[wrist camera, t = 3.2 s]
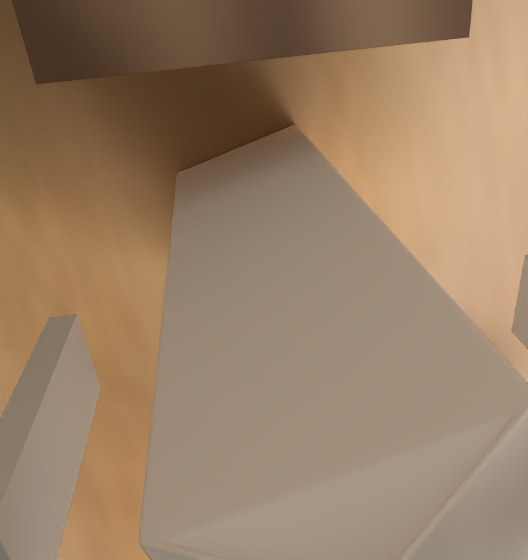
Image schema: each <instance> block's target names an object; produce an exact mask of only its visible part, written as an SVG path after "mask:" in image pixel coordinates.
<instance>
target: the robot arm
mask: <svg viewBox="0 0 528 560" xmlns="http://www.w3.org/2000/svg"><path fill="white" fill-rule="evenodd" d="M511 332H512V333H513V334H514V335H515V336H516V337H517V338H518V339H519V340H520V341H521V342H522V343H523V344H524V345H525V346H526V348H527V349H528V255H525V258H524V264H523V269H522V275H521V280H520V286H519V292H518V297H517V303H516V308H515V314H514V320H513V325H512V331H511ZM100 390H101V389H100V385H99V382H98V379H97V376H96V373H95V370H94V367H93V363H92V360H91V357H90V354H89V351H88V348H87V344H86V341H85V338H84V335H83V332H82V329H81V326H80V322H79V319H78V316H77V314H74V315H66V316H59V317H51V318H49V319H48V322H47V324H46V326H45V328H44V330H43V332H42V334H41V336H40V338H39V340H38V342H37V344H36V346H35V348H34V350H33V352H32V354H31V356H30V359H29V361H28V363H27V365H26V367H25V369H24V371H23V373H22V375H21V377H20V379H19V381H18V383H17V385H16V387H15V389H14V391H13V394H12V396H11V398H10V400H9V402H8V404H7V406H6V408H5V410H4V412H3V414H2V416H1V418H0V560H56V558H57V554H58V551H59V547H60V543H61V539H62V535H63V532H64V528H65V524H66V520H67V516H68V512H69V509H70V505H71V501H72V497H73V493H74V489H75V486H76V482H77V478H78V474H79V470H80V466H81V463H82V459H83V455H84V451H85V447H86V444H87V440H88V436H89V432H90V428H91V424H92V421H93V417H94V413H95V409H96V405H97V401H98V398H99V394H100Z"/></svg>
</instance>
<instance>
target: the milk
mask: <svg viewBox="0 0 528 560" xmlns="http://www.w3.org/2000/svg"><path fill="white" fill-rule="evenodd" d="M139 544H140V546H141V548H142V549H143V550H144V551H145V553H146V554H147V555H148V556H149V558H150V559H151V560H528V383H527V382H526V380H525V379H524V378H523V377H522V376H521V375H520V374H519V373H518V372H517V370H516V369H515V368H514V367H513V366H512V365H511V364H510V363H509V362H508V360H507V359H506V358H505V357H504V356H503V355H502V354H501V353H500V352H499V350H498V349H497V348H496V347H495V346H494V345H493V344H492V343H491V342H490V340H489V339H488V338H487V337H486V336H485V335H484V334H483V333H482V332H481V330H480V329H479V328H478V327H477V326H476V325H475V324H474V323H473V322H472V320H471V319H470V318H469V317H468V316H467V315H466V314H465V313H464V312H463V310H462V309H461V308H460V307H459V306H458V305H457V304H456V303H455V301H454V300H453V299H452V298H451V297H450V296H449V295H448V294H447V293H446V291H445V290H444V289H443V288H442V287H441V286H440V285H439V284H438V283H437V281H436V280H435V279H434V278H433V277H432V276H431V275H430V274H429V273H428V271H427V270H426V269H425V268H424V267H423V266H422V265H421V264H420V263H419V261H418V260H417V259H416V258H415V257H414V256H413V255H412V254H411V253H410V251H409V250H408V249H407V248H406V247H405V246H404V245H403V244H402V243H401V241H400V240H399V239H398V238H397V237H396V236H395V235H394V234H393V233H392V231H391V230H390V229H389V228H388V227H387V226H386V225H385V224H384V223H383V221H382V220H381V219H380V218H379V217H378V216H377V215H376V214H375V213H374V211H373V210H372V209H371V208H370V207H369V206H368V205H367V204H366V203H365V201H364V200H363V199H362V198H361V197H360V196H359V195H358V194H357V192H356V191H355V190H354V189H353V188H352V187H351V186H350V185H349V184H348V182H347V181H346V180H345V179H344V178H343V177H342V176H341V175H340V174H339V172H338V171H337V170H336V169H335V168H334V167H333V166H332V165H331V164H330V162H329V161H328V160H327V159H326V158H325V157H324V156H323V155H322V154H321V152H320V151H319V150H318V149H317V148H316V147H315V146H314V145H313V144H312V142H311V141H310V140H309V139H308V138H307V137H306V136H305V135H304V134H303V132H302V131H301V130H300V129H299V128H298V127H297V126H296V125H292V126H289V127H287V128H284V129H282V130H280V131H277V132H275V133H272V134H270V135H267V136H265V137H263V138H260V139H258V140H255V141H253V142H251V143H248V144H246V145H243V146H241V147H239V148H236V149H234V150H231V151H229V152H227V153H224V154H222V155H219V156H217V157H215V158H212V159H210V160H207V161H205V162H203V163H200V164H198V165H195V166H193V167H191V168H188V169H186V170H183V171H181V172H179V173H178V174H177V182H176V191H175V201H174V210H173V220H172V229H171V238H170V248H169V257H168V267H167V276H166V286H165V295H164V305H163V314H162V324H161V333H160V342H159V352H158V361H157V371H156V380H155V390H154V399H153V409H152V418H151V428H150V437H149V446H148V456H147V465H146V475H145V484H144V494H143V503H142V513H141V522H140V532H139Z"/></svg>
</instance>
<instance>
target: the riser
mask: <svg viewBox="0 0 528 560" xmlns="http://www.w3.org/2000/svg"><path fill="white" fill-rule="evenodd" d="M12 1H13V5H14V8H15V12H16V15H17V19H18V22H19V26H20V29H21V33H22V36H23V40H24V43H25V47H26V50H27V54H28V57H29V61H30V64H31V68H32V71H33V75H34V78H35V82H36V84H43V83H52V82H61V81H70V80H79V79H89V78H98V77H107V76H116V75H126V74H135V73H144V72H153V71H162V70H172V69H181V68H190V67H199V66H208V65H218V64H227V63H236V62H245V61H254V60H264V59H273V58H282V57H291V56H300V55H310V54H319V53H328V52H337V51H347V50H356V49H365V48H374V47H383V46H393V45H402V44H411V43H420V42H429V41H439V40H448V39H457V38H466V37H469V31H470V21H471V10H472V0H12Z"/></svg>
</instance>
